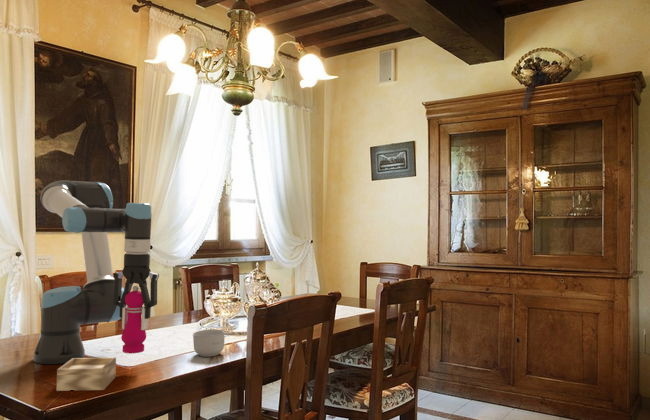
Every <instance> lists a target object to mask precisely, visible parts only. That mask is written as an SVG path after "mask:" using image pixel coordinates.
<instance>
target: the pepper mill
mask: <svg viewBox="0 0 650 420" xmlns="http://www.w3.org/2000/svg"><path fill="white" fill-rule="evenodd" d="M139 289H140V287H139V285H134V286H132V290H131V291H130V292H129V293H128V294H127V295H126V297H125V303H126V304H127V305H126V306H128V307H126V309H127V310H126V312H128V320H127V324H126V326H125V328H124V329H122V333H121V336H120V339H121V341H122V343H124V344H123V345H122V353H125V354H140V353H143V352H144V351H145V344H144V342H145V341H146V339H147V332H146V331H147V330H146V329H145V330H141V323H142V308H144V302H143V298H142V294H141V290H139Z"/></svg>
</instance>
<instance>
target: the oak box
mask: <svg viewBox="0 0 650 420" xmlns="http://www.w3.org/2000/svg"><path fill="white" fill-rule="evenodd" d="M116 369H117V357H84V358H72V359H71V360H69V361H68V362H67V363H63V365H60V367H58V368H57V369H56V392H60V391H61V392H63V391H65V392H67V391H70V390H74V391H104V390H106V388H107V387H108V386H109V385H110V384H111V383H112V382H113V380H114V379H115V378H116V375H117V374H116V371H117V370H116Z"/></svg>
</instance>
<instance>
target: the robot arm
mask: <svg viewBox="0 0 650 420" xmlns="http://www.w3.org/2000/svg"><path fill="white" fill-rule="evenodd" d="M39 197H40V203H41V205H42V207H43V208H44V209H46V210H47V211H48V212H50V213H53V214H57V215H58V216H59V217H60V218H61V223H62V227H63V230H64V231H65V232H68V233H75V234H76V233H77V234H78V233H81V241H82V249H83V257H84V258H83V259H84V265H85V273H86V282H85V283H84V285H83V288H82V287H81V286H80V285H69V286H60V287H56V288H52V289H48V290H46V291H45V292H44V293H43V294H42V298H41V303H40V304H41V305H40V308H41V310H40V311H41V312H40V334H39V335H40V336H39V340H38V343H37V344H36V347H35V350H34V353H33V362H34V363H36V364H40V365H60V364H65V363H67V362H68V361H69V360H71V359H72V358H85V353H86V352H85V347H84V344H83V341H82V337H81V335H80V334H81V333H80V331H81V329H80V328H81V326H83V325H90V324H100V323H111V322H116V321H119V320H121V330H124V328H125V326H126V324H127V320H128V312H126V310H127V309H126V307H128V306H127V304H126V303H125V297H126V295H127V294H128V293H129V292H131V291H132V289H133V285H134V284H136V285H138V288H139V289H140V292H141V294H142V298H143V302H144V304H143V307H144V308H142V315H141V320H142V323H141V330H145V331H146V330H147V329H148V319H150V318H151V310H152V307H153V308H154V307H156V306H157V305H158V279H159V277H160V274H159V273H154V272H152V271H151V269H150V265H151V264H150V263H151V255H150V252H151V236H152V235H151V231H152V230H151V229H152V217H153V214H152V205H151V204H150V203H147V202H146V203H144V202H127V203H126V204H125V205H126V206H125V208H113V207H114V197H113V193H112V190H111V188H110V187H109V185H107V184H106V183H104V182H98V181H80V180H78V181H77V180H63V179H62V180H56V181H53V182H51V183H48V185H46V186H45V187H44V188H43V189H42V191H41V192H40V196H39ZM108 233H124V247H123V248H124V249H123V250H124V251H123V252H125V253H124V255H123V269H122V270H121V271H117V272H114V271H113V267H112V266H113V265H112V260H111V253H110V252H111V251H110V246H109V245H110V243H109V238H108V237H109V236H108ZM113 272H114V273H113ZM148 277H149V280H150V291H149V289H148V282H147V279H148ZM123 278H125V283H124V287H123V286H122V285H123ZM149 292H150V294H149Z"/></svg>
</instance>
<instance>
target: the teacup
mask: <svg viewBox="0 0 650 420" xmlns="http://www.w3.org/2000/svg"><path fill="white" fill-rule="evenodd" d="M192 339H193V341H192V342H193V350H194V352H195V353H196V354H197V355H199V356H200V357H203V358H204V357H205V358H208V357H209V358H210V357H211V358H212V357H216V356H218V355H219V354H220V353H221V352H222V351H223V350H224V349H225V330H223V329H215V328H211V329H203V330H198V331H195V332H193V333H192Z"/></svg>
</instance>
